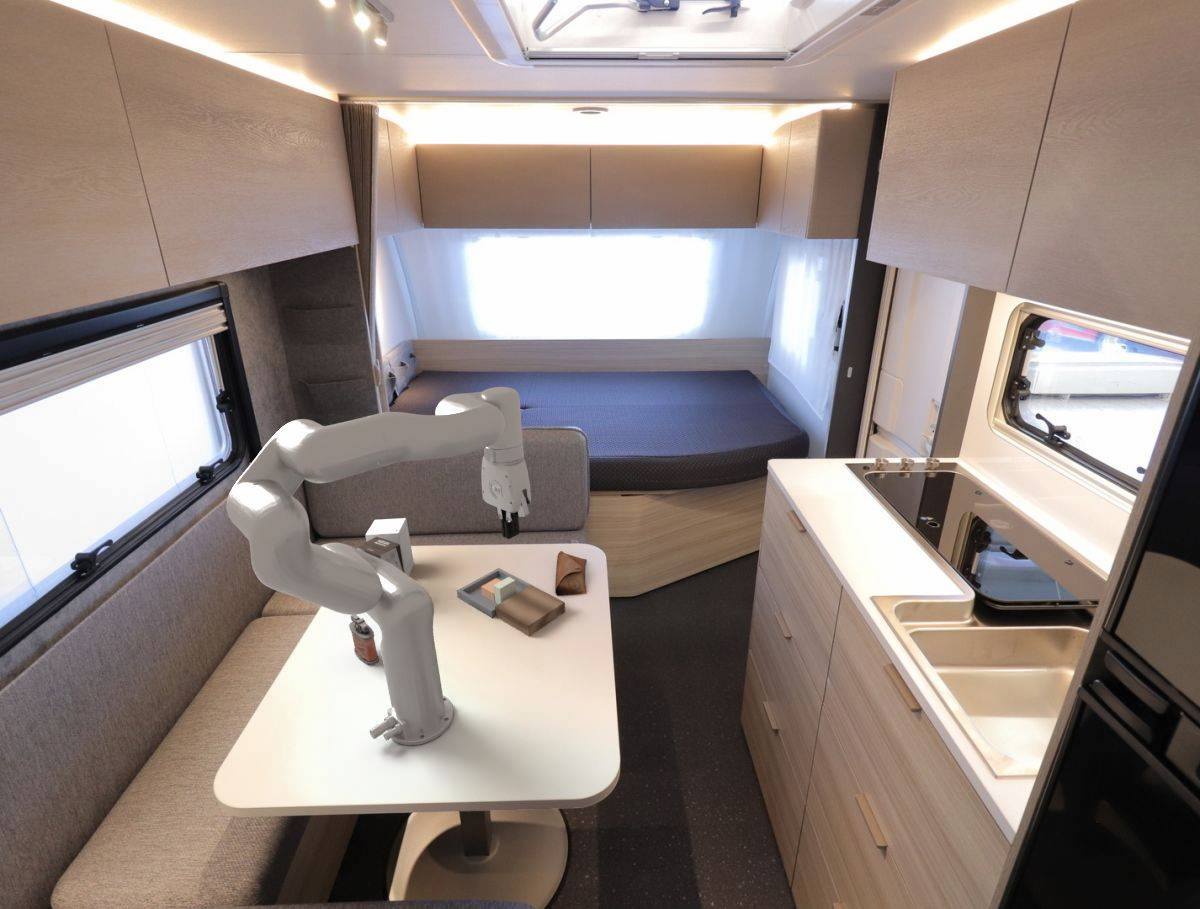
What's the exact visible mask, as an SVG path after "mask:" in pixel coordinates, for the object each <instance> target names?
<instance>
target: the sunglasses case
mask: <svg viewBox="0 0 1200 909" xmlns="http://www.w3.org/2000/svg"><path fill="white" fill-rule="evenodd" d="M586 563H587V559H586V558H581V557H579V556H575V555H572V554H569V553H566V552H564V551H559V552H558V553H557V558H556V568H555V570H556V571H555V584H554V593H555V595H556V596H557V597H560V596H561V597H562V596H563V597H564V596H576V595H577V596H578V595H586V594H587V585H586V566H587V564H586Z"/></svg>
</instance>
